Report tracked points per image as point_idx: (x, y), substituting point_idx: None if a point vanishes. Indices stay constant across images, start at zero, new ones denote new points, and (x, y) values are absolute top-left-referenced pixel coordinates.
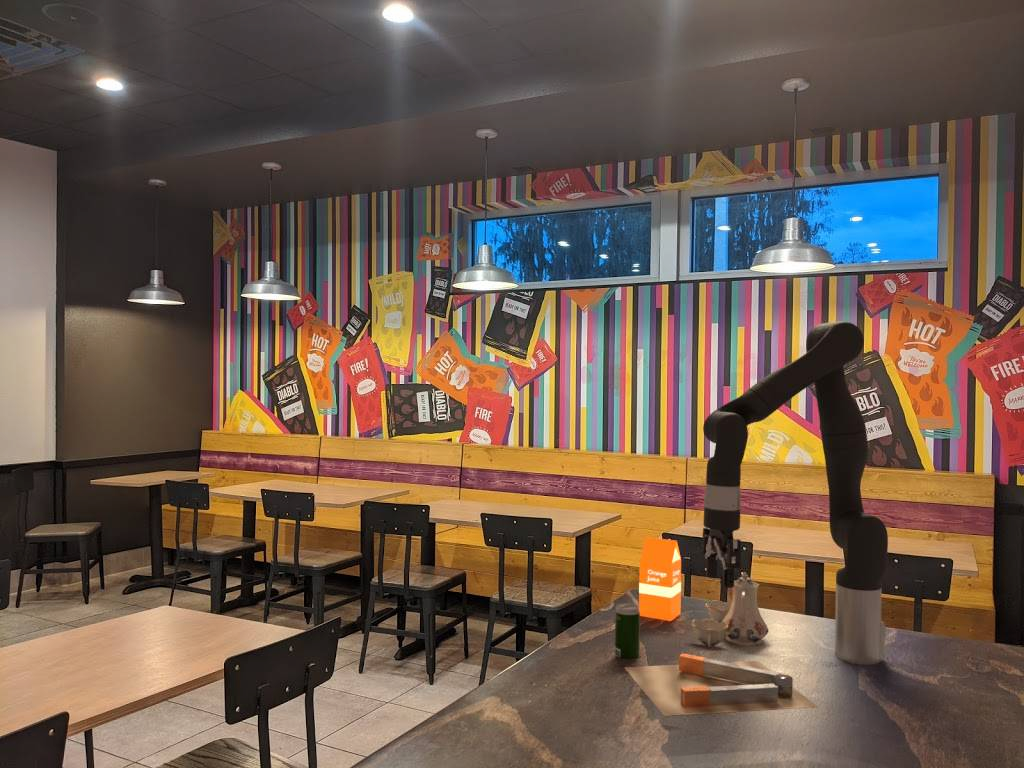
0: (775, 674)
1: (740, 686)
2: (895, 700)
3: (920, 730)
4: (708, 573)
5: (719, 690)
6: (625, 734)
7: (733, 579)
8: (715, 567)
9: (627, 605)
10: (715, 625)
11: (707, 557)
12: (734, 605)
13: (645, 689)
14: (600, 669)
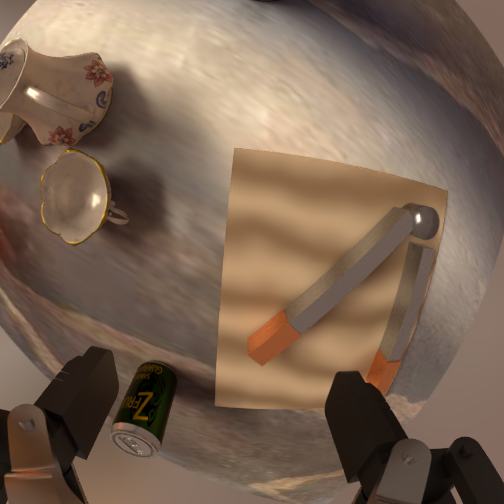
0: (409, 226)
1: (410, 311)
2: (415, 43)
3: (482, 104)
4: (112, 400)
5: (404, 348)
6: None
7: (386, 406)
8: (87, 391)
9: (121, 441)
10: (58, 170)
11: (76, 473)
12: (33, 116)
13: (306, 405)
14: (190, 413)
